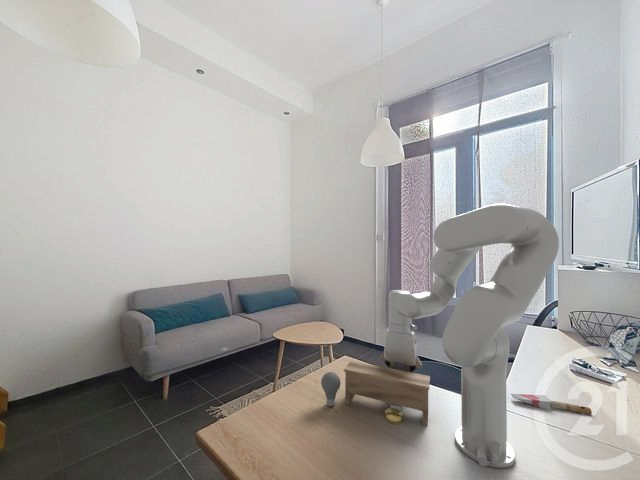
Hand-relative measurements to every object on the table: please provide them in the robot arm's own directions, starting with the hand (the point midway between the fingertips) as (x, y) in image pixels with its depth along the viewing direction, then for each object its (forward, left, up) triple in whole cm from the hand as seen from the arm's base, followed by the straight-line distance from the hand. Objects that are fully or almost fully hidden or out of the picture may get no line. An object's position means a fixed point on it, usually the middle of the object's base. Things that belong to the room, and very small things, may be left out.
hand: (400, 382), depth 87 cm
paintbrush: (+14, -43, -5) cm, 46 cm away
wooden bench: (-8, +3, -5) cm, 10 cm away
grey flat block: (-4, 0, -4) cm, 6 cm away
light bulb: (-14, +19, -5) cm, 25 cm away
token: (-12, 0, -5) cm, 13 cm away
